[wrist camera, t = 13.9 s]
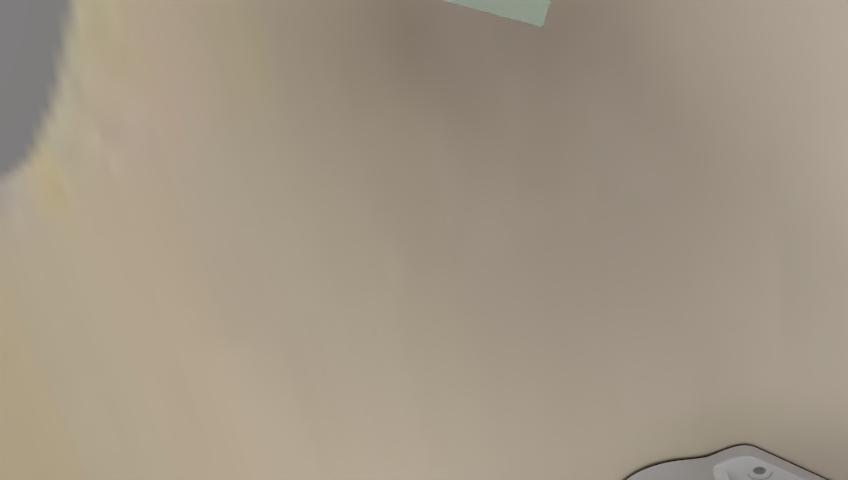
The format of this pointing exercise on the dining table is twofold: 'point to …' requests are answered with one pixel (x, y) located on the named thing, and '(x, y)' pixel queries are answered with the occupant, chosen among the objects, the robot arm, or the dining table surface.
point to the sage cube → (511, 9)
